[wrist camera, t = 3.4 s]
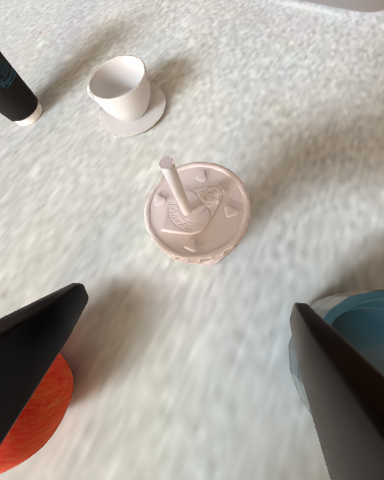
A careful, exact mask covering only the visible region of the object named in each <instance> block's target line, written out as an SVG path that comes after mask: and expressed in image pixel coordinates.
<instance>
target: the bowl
mask: <svg viewBox="0 0 384 480" xmlns="http://www.w3.org/2000/svg"><path fill="white" fill-rule="evenodd" d="M310 307H311V308H312V309H313V310H315V311H316V312H317V313H318V314H319V315H320V316H321V317H322V318H323V319H324V320H325V321H326V322H327V323H328V324H330V325H331V326H332V327H333V328H334V329H335V330H336V331H337V332H338V333H339V334H340V335H341V336H342V337H343V338H344V339H346V340H347V341H348V342H349V343H350V344H351V345H352V346H353V347H354V348H355V349H356V350H357V351H358V352H359V353H361V354H362V355H363V356H364V357H365V358H366V359H367V360H368V361H369V362H370V363H371V364H372V365H373V366H374V367H376V368H377V369H378V370H379V371H380V372H381V373H382V374H383V375H384V290H368V291H351V292H341V293H337V294H333V295H329V296H325V297H322V298H321V299H319V300H318V301H316V302H315V303H313V304H312V305H310ZM289 357H290V370H291V373H292V376H293V379H294V382H295V385H296V388H297V391H298V394H299V396H300V398H301V399H302V401H303V402H304V404H305V405H306V407H307V408H308V410H309V411H310V413H311V410H310V406H309V403H308V399H307V396H306V392H305V389H304V386H303V382H302V379H301V375H300V372H299V368H298V363H297V358H296V353H295V347H294V341H293V336H291V340H290V343H289ZM311 414H312V413H311Z"/></svg>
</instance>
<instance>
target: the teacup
mask: <svg viewBox="0 0 384 480" xmlns="http://www.w3.org/2000/svg"><path fill="white" fill-rule="evenodd" d="M87 91H88V93H89V95H90V96H91V97H92V98H93V99H94V100H95V101H97V102H98V103H99V104H100V105H101V110H100V114H99V121H100V124H101V127H102V128H103V129H104V130H105V131H106V132H107V133H108V134H110V135H113V136H117V137H130V136H134V135H138V134H140V133H142V132H144V131H146V130H148V129H149V128H151V127H152V126H153V125H154V124H155V123H156V122H157V121H158V120H159V119H160V118H161V116H162V114H163V112H164V110H165V106H166V98H165V95H164V93H163V91H162V90H161V89H160V88H159V87H158V86H156V85H154V84H151V83H149V80H148V75H147V71H146V67H145V64H144V63H143V61H142V60H141V59H139V58H138V57H135V56H132V55H122V56H117V57H114V58H111V59H109V60H107V61H106V62H104V63H102V64H101V65H100V66H99V67H98V68H97V69H96V70H95V71H94V72H93V74H92V75H91V77H90V80H89V84H88V86H87Z"/></svg>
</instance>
